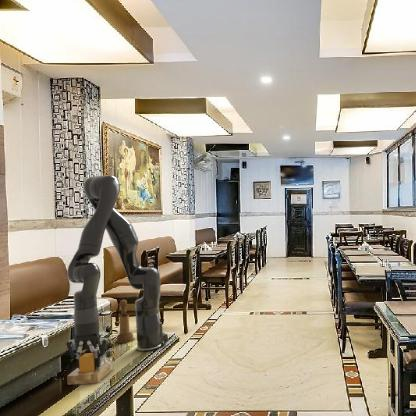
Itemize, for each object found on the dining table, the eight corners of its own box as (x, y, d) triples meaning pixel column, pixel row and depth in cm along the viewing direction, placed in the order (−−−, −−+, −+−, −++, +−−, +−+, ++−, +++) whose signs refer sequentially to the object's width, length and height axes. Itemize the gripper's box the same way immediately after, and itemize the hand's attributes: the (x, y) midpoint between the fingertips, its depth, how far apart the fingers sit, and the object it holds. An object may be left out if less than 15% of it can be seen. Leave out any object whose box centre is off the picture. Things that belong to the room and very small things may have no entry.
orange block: (85, 367, 151) (85, 353, 151) (98, 366, 151) (98, 352, 151) (79, 372, 146) (78, 358, 146) (93, 371, 146) (92, 357, 146)
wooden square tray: (110, 370, 154) (110, 362, 154) (98, 382, 144) (97, 374, 144) (82, 372, 153) (81, 364, 153) (67, 384, 143) (67, 376, 143)
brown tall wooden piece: (122, 343, 184) (120, 302, 183) (113, 341, 187) (111, 300, 187) (136, 339, 189) (134, 298, 189) (127, 337, 193) (125, 297, 192)
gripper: (112, 315, 152) (114, 363, 153) (70, 318, 152) (73, 366, 152) (102, 321, 145) (105, 371, 145) (59, 324, 144) (62, 374, 144)
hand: (89, 368), depth 149 cm, fingers closed on orange block, 4 cm apart
